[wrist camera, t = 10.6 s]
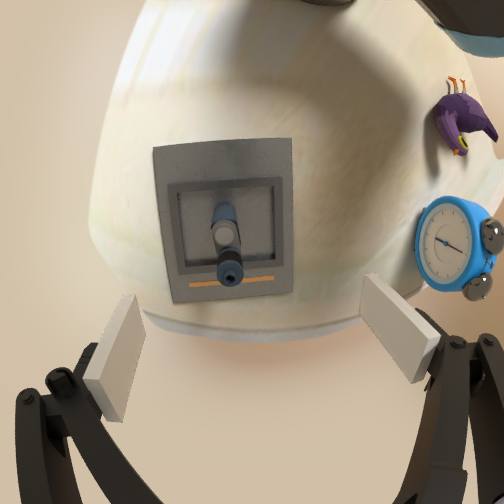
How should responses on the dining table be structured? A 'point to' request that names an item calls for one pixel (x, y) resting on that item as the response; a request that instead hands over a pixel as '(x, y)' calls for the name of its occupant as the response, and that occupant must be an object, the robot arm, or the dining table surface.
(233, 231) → the vaping device
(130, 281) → the dining table surface
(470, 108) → the toy
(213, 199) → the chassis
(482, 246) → the alarm clock
